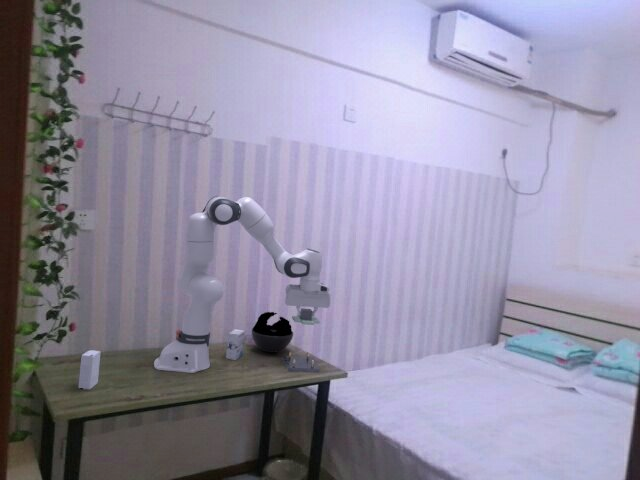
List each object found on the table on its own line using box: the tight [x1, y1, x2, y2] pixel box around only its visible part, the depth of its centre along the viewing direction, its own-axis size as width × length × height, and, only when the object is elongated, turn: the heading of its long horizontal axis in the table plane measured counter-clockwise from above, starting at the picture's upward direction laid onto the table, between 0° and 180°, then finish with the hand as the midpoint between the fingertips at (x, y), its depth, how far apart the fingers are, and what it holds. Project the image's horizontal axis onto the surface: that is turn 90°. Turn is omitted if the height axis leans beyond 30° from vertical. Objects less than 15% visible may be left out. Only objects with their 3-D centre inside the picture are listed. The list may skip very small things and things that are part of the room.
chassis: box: [282, 351, 321, 373], centre depth 219 cm, size 14×15×5 cm
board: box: [291, 307, 320, 326], centre depth 218 cm, size 11×13×5 cm
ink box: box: [225, 328, 246, 361], centre depth 221 cm, size 9×5×12 cm, turn 168°
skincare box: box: [78, 349, 101, 390], centre depth 172 cm, size 6×4×12 cm
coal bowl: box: [251, 311, 294, 353], centre depth 235 cm, size 20×20×19 cm
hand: (306, 316), depth 218 cm, fingers closed on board, 4 cm apart
